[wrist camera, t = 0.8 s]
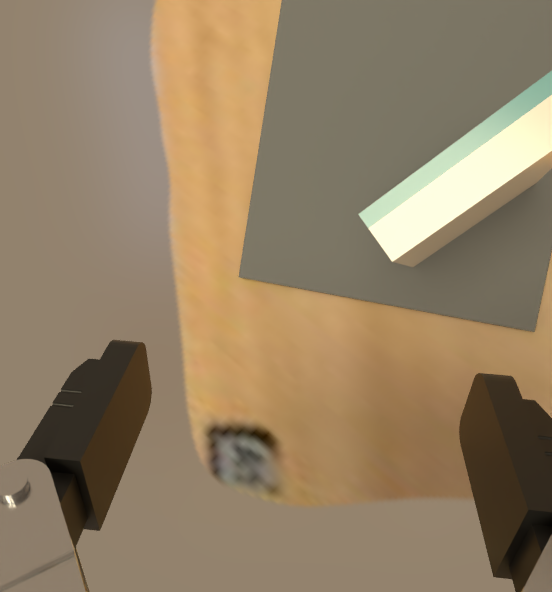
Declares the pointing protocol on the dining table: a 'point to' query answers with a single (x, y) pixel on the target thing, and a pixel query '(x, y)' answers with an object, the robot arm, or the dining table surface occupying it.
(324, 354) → the dining table surface
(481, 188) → the tile
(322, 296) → the dining table surface
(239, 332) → the dining table surface
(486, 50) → the mat
